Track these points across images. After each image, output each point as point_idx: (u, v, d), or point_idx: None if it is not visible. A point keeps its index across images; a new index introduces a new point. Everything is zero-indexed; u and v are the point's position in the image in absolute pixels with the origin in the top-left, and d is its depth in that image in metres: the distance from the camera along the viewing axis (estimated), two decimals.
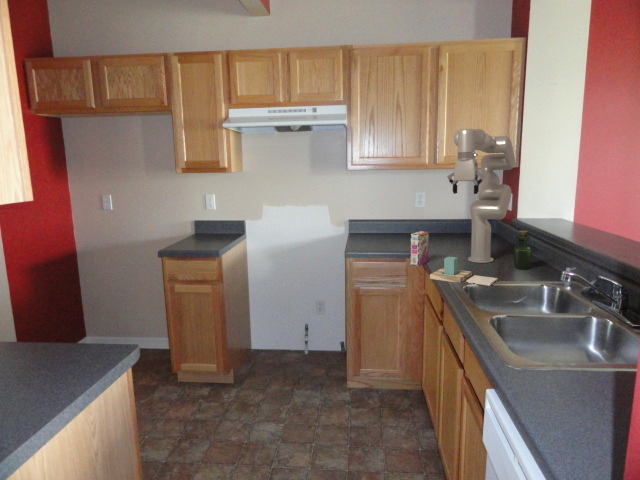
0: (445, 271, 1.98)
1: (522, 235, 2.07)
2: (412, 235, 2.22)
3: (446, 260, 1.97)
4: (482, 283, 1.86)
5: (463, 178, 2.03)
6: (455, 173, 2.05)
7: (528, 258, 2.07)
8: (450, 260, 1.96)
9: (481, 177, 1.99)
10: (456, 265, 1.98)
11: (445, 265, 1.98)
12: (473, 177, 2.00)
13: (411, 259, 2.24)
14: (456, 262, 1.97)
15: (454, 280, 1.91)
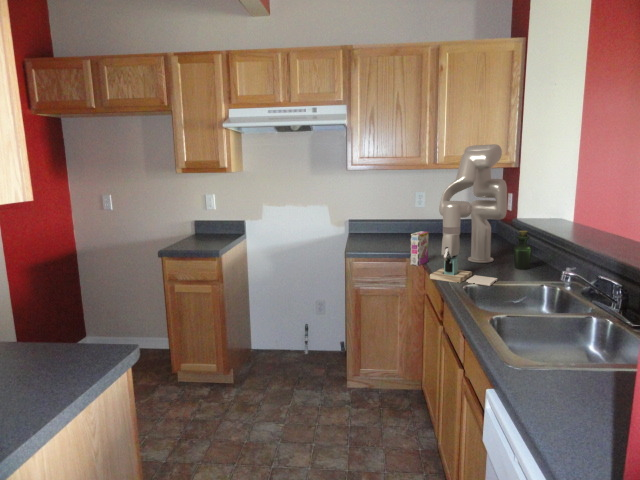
0: (445, 271, 1.98)
1: (522, 235, 2.07)
2: (412, 235, 2.22)
3: None
4: (482, 283, 1.86)
5: (455, 253, 1.96)
6: (452, 249, 1.93)
7: (528, 258, 2.07)
8: None
9: None
10: (456, 265, 1.98)
11: None
12: None
13: (411, 259, 2.24)
14: (456, 262, 1.97)
15: (454, 280, 1.91)
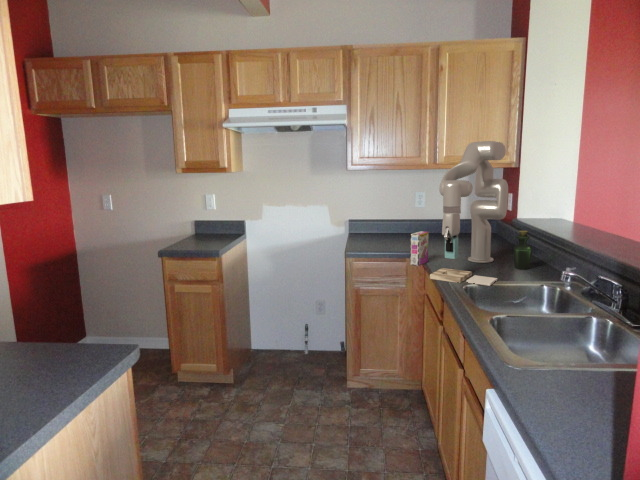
0: (446, 251, 1.97)
1: (522, 235, 2.07)
2: (412, 235, 2.22)
3: None
4: (482, 283, 1.86)
5: (455, 232, 1.95)
6: (452, 228, 1.91)
7: (528, 258, 2.07)
8: None
9: None
10: (457, 245, 1.96)
11: (445, 245, 1.97)
12: (459, 230, 1.98)
13: (411, 259, 2.24)
14: (457, 242, 1.96)
15: (454, 280, 1.91)
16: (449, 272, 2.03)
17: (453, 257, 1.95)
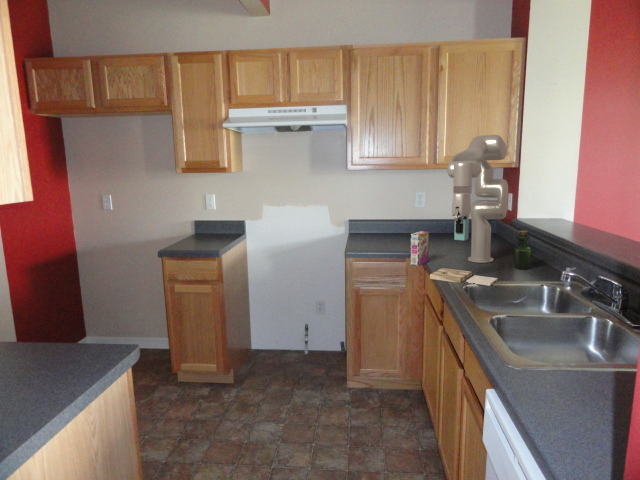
0: (455, 232, 1.92)
1: (522, 235, 2.07)
2: (412, 235, 2.22)
3: None
4: (482, 283, 1.86)
5: (466, 213, 1.90)
6: (463, 209, 1.87)
7: (528, 258, 2.07)
8: None
9: (468, 214, 1.96)
10: (467, 226, 1.92)
11: (455, 226, 1.92)
12: (470, 211, 1.94)
13: (411, 259, 2.24)
14: (467, 223, 1.92)
15: (454, 280, 1.91)
16: (449, 272, 2.03)
17: (463, 239, 1.91)
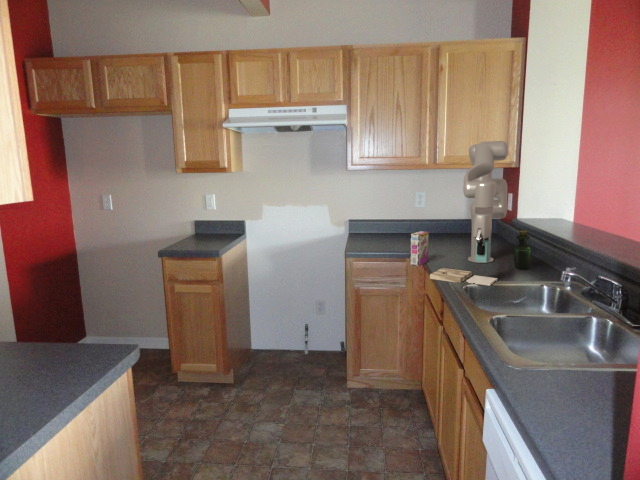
0: None
1: (522, 235, 2.07)
2: (412, 235, 2.22)
3: None
4: (482, 283, 1.86)
5: (487, 235, 1.86)
6: (485, 230, 1.82)
7: (528, 258, 2.07)
8: None
9: None
10: (488, 248, 1.87)
11: (476, 248, 1.88)
12: (491, 232, 1.89)
13: (411, 259, 2.24)
14: (488, 245, 1.87)
15: (454, 280, 1.91)
16: (449, 272, 2.03)
17: (485, 261, 1.86)
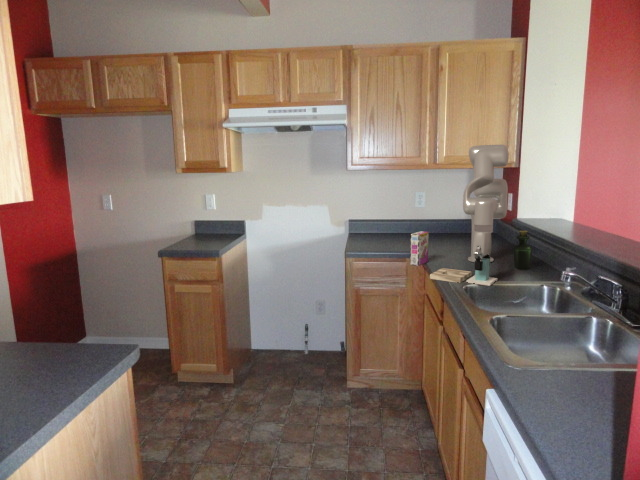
0: (476, 273, 1.90)
1: (522, 235, 2.07)
2: (412, 235, 2.22)
3: None
4: (482, 283, 1.86)
5: (487, 252, 1.87)
6: (484, 248, 1.84)
7: (528, 258, 2.07)
8: None
9: None
10: (488, 266, 1.89)
11: None
12: (490, 249, 1.91)
13: (411, 259, 2.24)
14: (488, 263, 1.89)
15: (454, 280, 1.91)
16: (449, 272, 2.03)
17: (484, 279, 1.88)
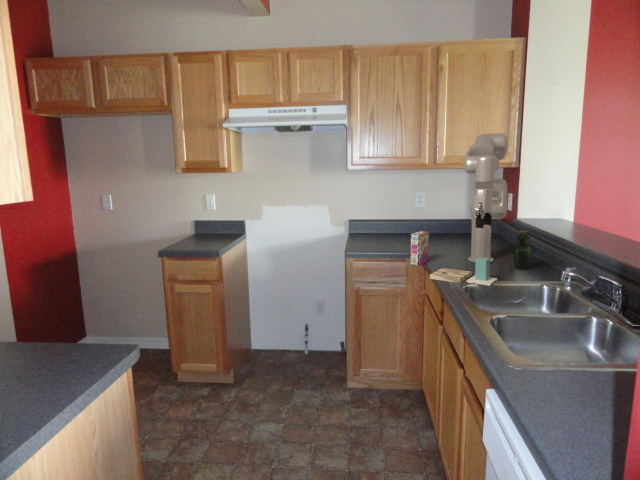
0: (476, 273, 1.90)
1: (522, 235, 2.07)
2: (412, 235, 2.22)
3: (477, 261, 1.88)
4: (482, 283, 1.86)
5: (488, 209, 1.84)
6: (486, 205, 1.81)
7: (528, 258, 2.07)
8: (482, 261, 1.87)
9: None
10: (488, 266, 1.89)
11: (476, 266, 1.89)
12: (492, 207, 1.88)
13: (411, 259, 2.24)
14: (488, 263, 1.89)
15: (454, 280, 1.91)
16: (449, 272, 2.03)
17: (484, 279, 1.88)
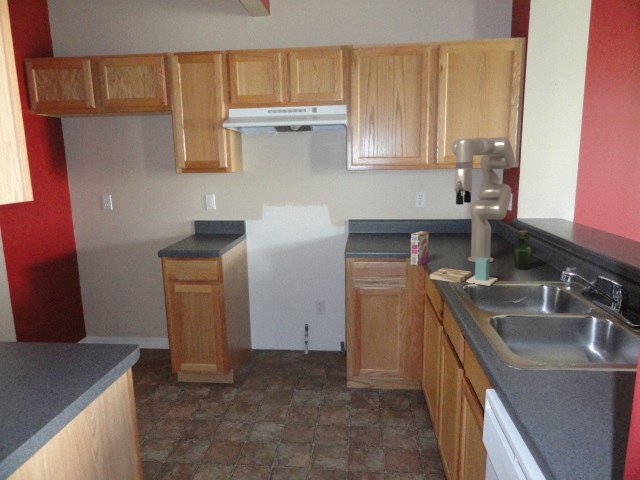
0: (476, 273, 1.90)
1: (522, 235, 2.07)
2: (412, 235, 2.22)
3: (477, 261, 1.88)
4: (482, 283, 1.86)
5: (467, 188, 2.02)
6: (465, 183, 1.99)
7: (528, 258, 2.07)
8: (482, 261, 1.87)
9: None
10: (488, 266, 1.89)
11: (476, 266, 1.89)
12: (471, 186, 2.06)
13: (411, 259, 2.24)
14: (488, 263, 1.89)
15: (454, 280, 1.91)
16: (449, 272, 2.03)
17: (484, 279, 1.88)
